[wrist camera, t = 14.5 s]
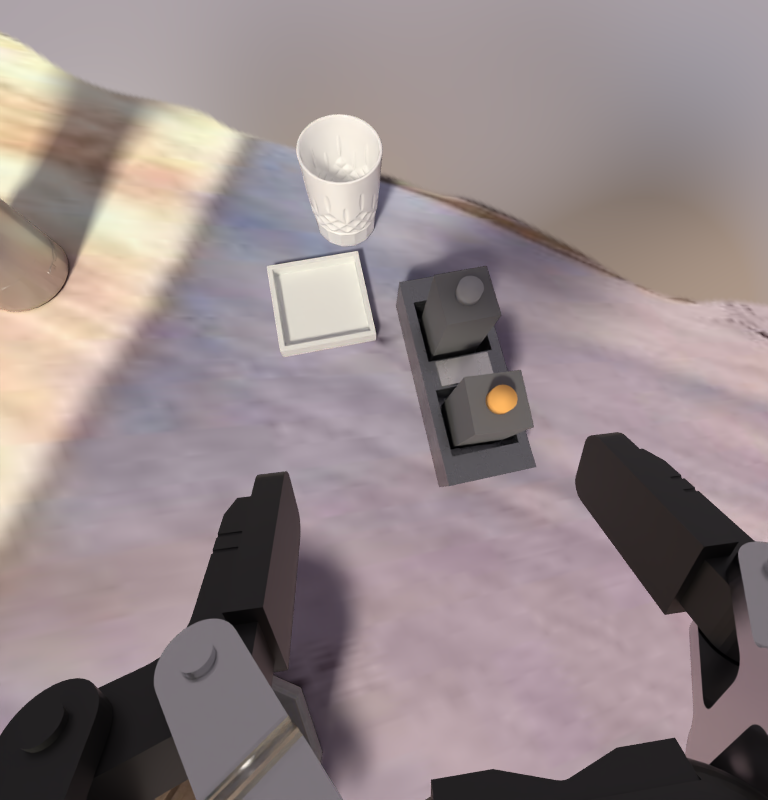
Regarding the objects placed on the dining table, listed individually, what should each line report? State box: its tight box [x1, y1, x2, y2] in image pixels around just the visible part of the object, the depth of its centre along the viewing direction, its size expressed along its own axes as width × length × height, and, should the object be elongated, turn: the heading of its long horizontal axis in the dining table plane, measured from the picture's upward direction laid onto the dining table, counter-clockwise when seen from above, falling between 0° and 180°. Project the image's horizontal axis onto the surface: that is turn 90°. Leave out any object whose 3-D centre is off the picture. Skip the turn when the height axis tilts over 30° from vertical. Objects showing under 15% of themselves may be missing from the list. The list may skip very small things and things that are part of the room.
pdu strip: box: [396, 276, 536, 487], centre depth 38 cm, size 8×20×5 cm, turn 12°
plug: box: [441, 370, 534, 449], centre depth 34 cm, size 4×4×11 cm
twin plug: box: [419, 266, 501, 362], centre depth 36 cm, size 4×4×11 cm
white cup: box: [296, 114, 382, 246], centre depth 40 cm, size 8×8×10 cm
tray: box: [267, 251, 376, 357], centre depth 42 cm, size 10×10×2 cm
